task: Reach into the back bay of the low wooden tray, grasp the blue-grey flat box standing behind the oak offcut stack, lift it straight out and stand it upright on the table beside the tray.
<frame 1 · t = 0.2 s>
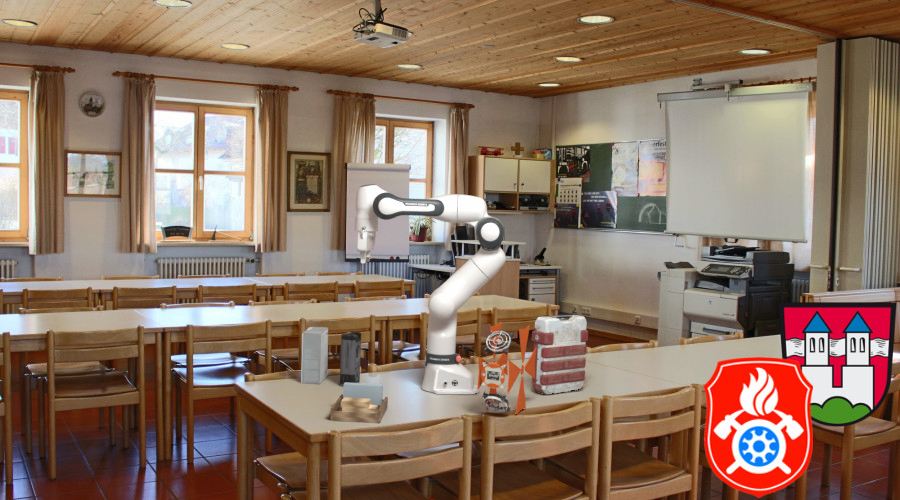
hand: (365, 262, 304), 48 cm above the table, fingers open, 8 cm apart
hard drive box: (314, 380, 313), on the table
blue-grey flat box: (362, 410, 269), resting in wooden tray
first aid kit: (557, 392, 310), on the table
offcut stack: (357, 418, 259), resting in wooden tray
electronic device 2: (506, 411, 277), on the table
electronic device: (349, 384, 307), on the table
wooden tray: (359, 414, 263), on the table
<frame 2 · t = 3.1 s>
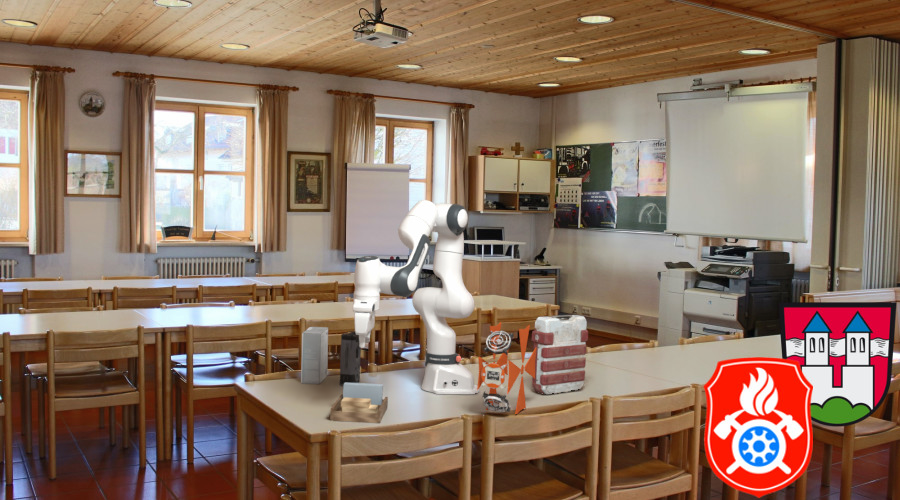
hand: (364, 344, 267), 22 cm above the table, fingers open, 8 cm apart
nothing on the table moved.
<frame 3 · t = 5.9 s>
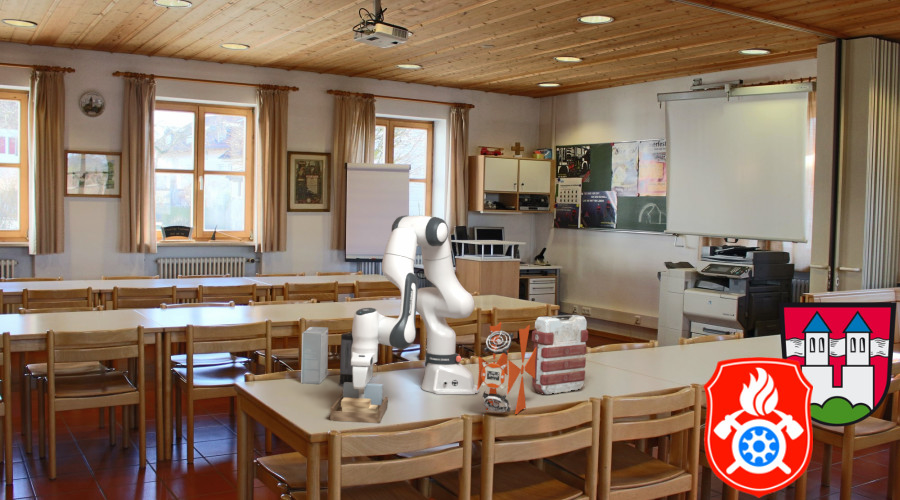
hand: (362, 396, 268), 5 cm above the table, fingers closed on blue-grey flat box, 3 cm apart
blue-grey flat box: (362, 410, 269), resting in wooden tray, touching gripper
everything else where it was.
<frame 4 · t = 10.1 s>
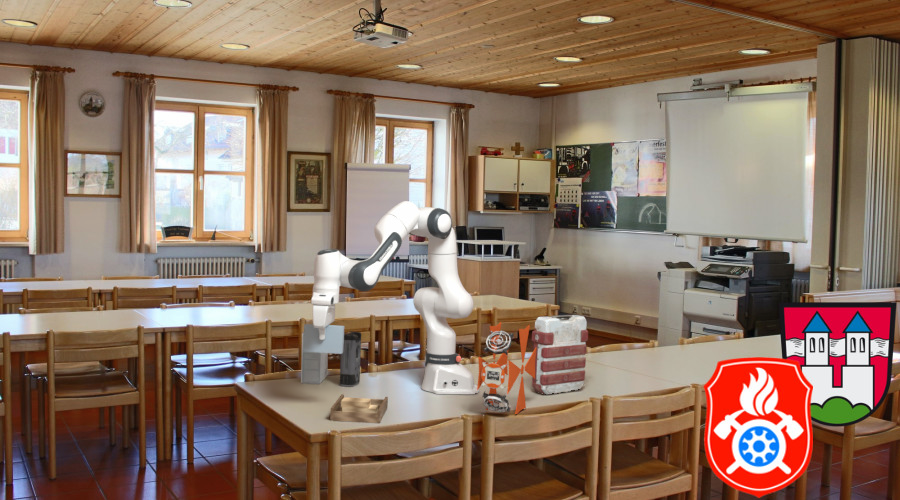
hand: (323, 338, 266), 24 cm above the table, fingers closed on blue-grey flat box, 3 cm apart
blue-grey flat box: (323, 352, 266), point 20 cm above the table, touching gripper
everything else where it was.
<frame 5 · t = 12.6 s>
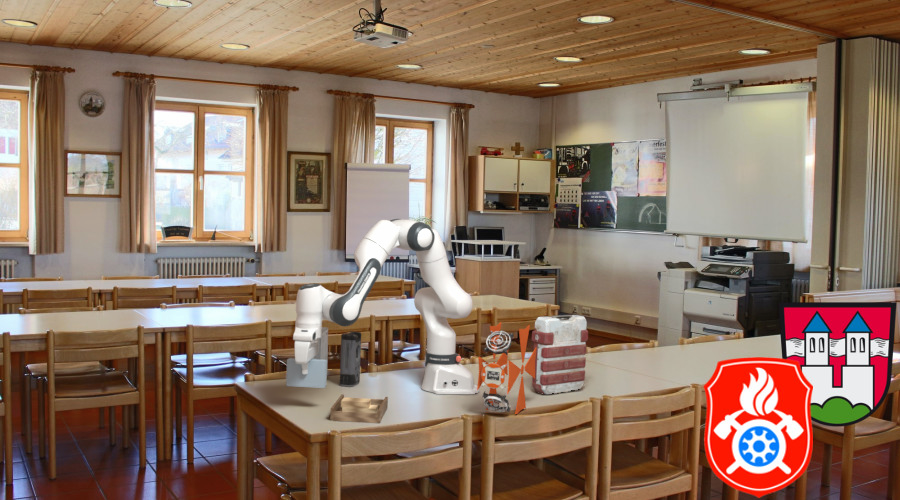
hand: (306, 372, 267), 12 cm above the table, fingers closed on blue-grey flat box, 3 cm apart
blue-grey flat box: (306, 386, 267), point 8 cm above the table, touching gripper
everything else where it was.
when the fingers open (6 cm above the table, at t = 14.6 s): blue-grey flat box drops 1 cm, on the table.
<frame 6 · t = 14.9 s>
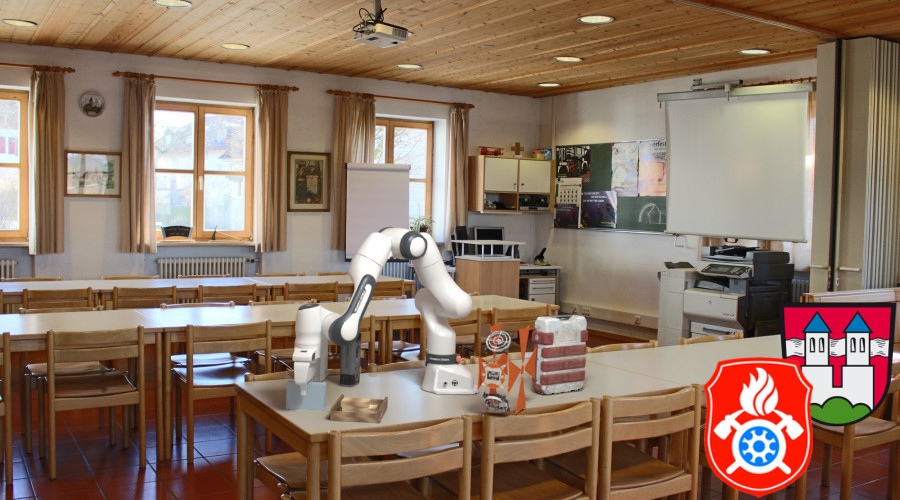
hand: (306, 392, 267), 6 cm above the table, fingers open, 6 cm apart
blue-grey flat box: (305, 408, 268), on the table
everything else where it was.
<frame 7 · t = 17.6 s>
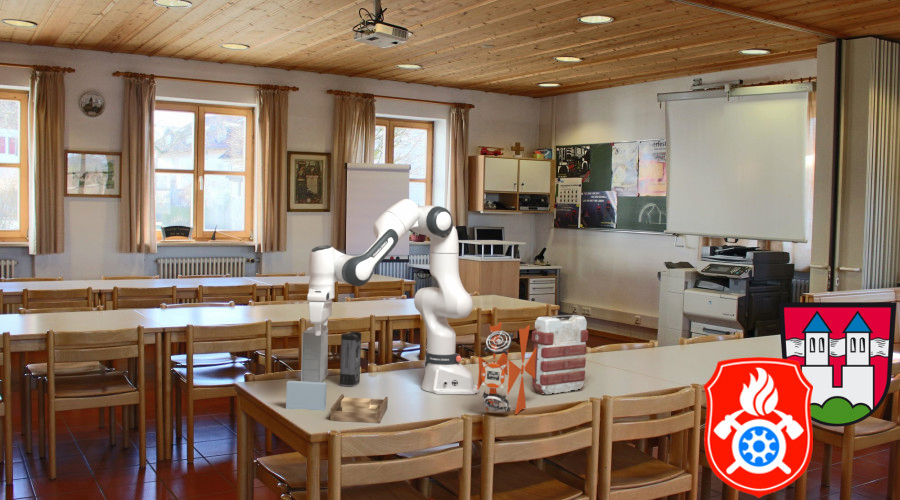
hand: (321, 332, 273), 25 cm above the table, fingers open, 8 cm apart
nothing on the table moved.
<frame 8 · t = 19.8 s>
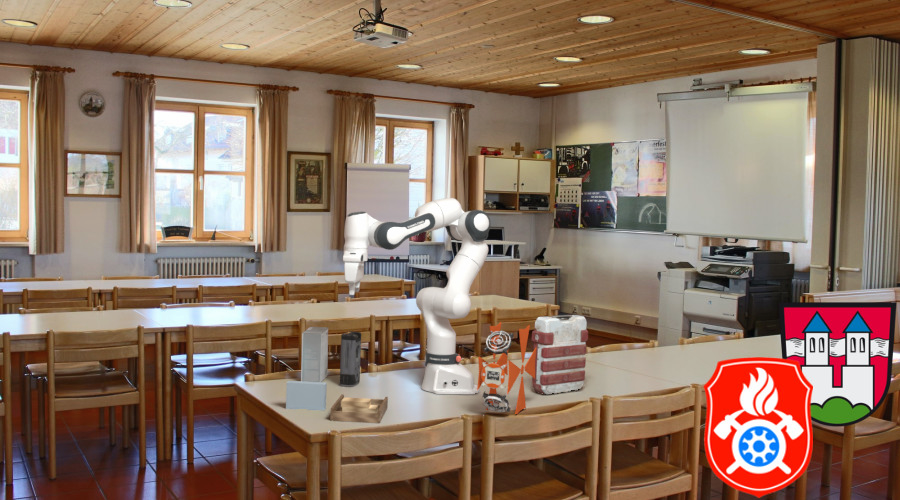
hand: (354, 293, 290), 37 cm above the table, fingers open, 8 cm apart
nothing on the table moved.
at the end: blue-grey flat box inside the target area (0.1 cm from its centre), on the table; blue-grey flat box tilted 0°; offcut stack moved 0.3 cm from its start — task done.
